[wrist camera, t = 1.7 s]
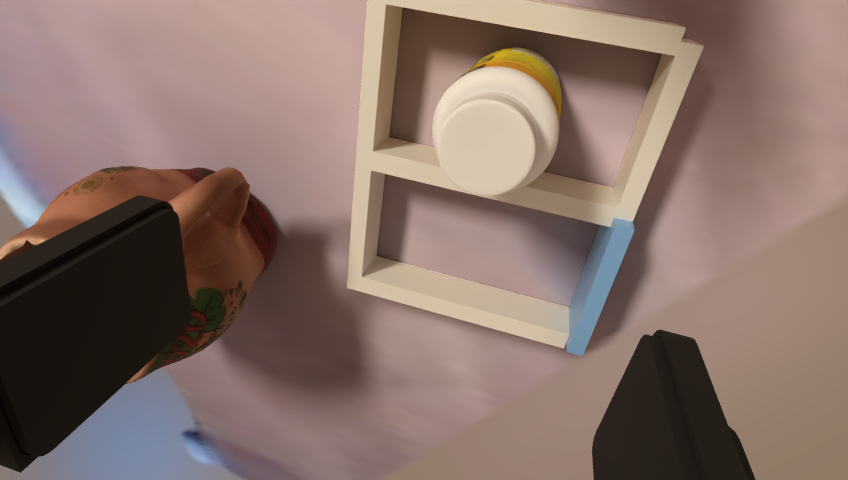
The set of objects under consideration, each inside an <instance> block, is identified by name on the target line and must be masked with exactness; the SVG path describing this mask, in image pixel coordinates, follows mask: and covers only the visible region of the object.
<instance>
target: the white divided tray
mask: <svg viewBox="0 0 848 480" xmlns="http://www.w3.org/2000/svg"><path fill="white" fill-rule="evenodd" d="M403 7H404V8H410V9H415V10H421V11H427V12H432V13H438V14H443V15H449V16H455V17H460V18H466V19H471V20H477V21H483V22H488V23H494V24H499V25H505V26H511V27H516V28H522V29H527V30H533V31H539V32H544V33H550V34H555V35H561V36H567V37H572V38H578V39H583V40H589V41H595V42H600V43H606V44H611V45H617V46H623V47H628V48H634V49H639V50H645V51H651V52H656V53H662V56H661V59H660V61H659V64H658V67H657V69H656V72H655V75H654V78H653V80H652V83H651V86H650V88H649V91H648V94H647V97H646V99H645V102H644V105H643V108H642V110H641V113H640V116H639V118H638V121H637V124H636V127H635V129H634V132H633V135H632V137H631V140H630V143H629V146H628V148H627V151H626V154H625V157H624V159H623V162H622V165H621V167H620V170H619V173H618V176H617V178H616V181H615V184H614V186H613V187H609V186H604V185H600V184H595V183H591V182H586V181H582V180H577V179H573V178H568V177H564V176H560V175H555V174H551V173H546V172H542V173H541V174H540V175H539V176H538V177H537V178H536V179H535V180H533V181H532V182H531V183H529V184H528V185H526V186H524V187H522V188H519V189H517V190H514V191H510V192H506V193H504V194H500V195H496V196H481V197H485V198H489V199H494V200H498V201H502V202H506V203H510V204H515V205H519V206H523V207H527V208H531V209H536V210H540V211H544V212H548V213H553V214H557V215H561V216H565V217H569V218H574V219H578V220H582V221H586V222H591V223H595V224H599V227H598V230H597V233H596V235H595V238H594V241H593V244H592V246H591V249H590V252H589V255H588V257H587V260H586V263H585V265H584V268H583V271H582V274H581V276H580V279H579V282H578V284H577V287H576V290H575V293H574V295H573V298H572V301H571V304H570V306H569V307H567V306H563V305H559V304H555V303H552V302H548V301H544V300H540V299H537V298H533V297H529V296H525V295H522V294H518V293H514V292H510V291H507V290H503V289H499V288H495V287H492V286H488V285H484V284H480V283H476V282H473V281H469V280H465V279H461V278H458V277H454V276H450V275H446V274H443V273H439V272H435V271H431V270H428V269H424V268H420V267H416V266H413V265H409V264H405V263H401V262H398V261H394V260H390V259H386V258H383V257H379V256H377V248H378V238H379V229H380V219H381V210H382V200H383V191H384V181H385V174H388V175H392V176H396V177H401V178H405V179H409V180H413V181H418V182H422V183H426V184H430V185H434V186H439V187H443V188H447V189H451V190H456V191H460V192H464V193H468V192H466V191H464V190H462V189H460V188H459V187H457V186H456V185H455V184H453V183H452V182H451V181H450V180H449V178H448V177H447V176H446V175H445V173H444V171H443V170H442V168H441V165H440V163H439V160H438V156H437V153H436V150H435V147H430V146H426V145H421V144H417V143H412V142H408V141H403V140H399V139H394V138H390V137H389V134H390V124H391V115H392V106H393V96H394V87H395V77H396V68H397V58H398V49H399V39H400V30H401V20H402V11H403ZM685 29H686V27H683V26H680V25H678V24H675V23H671V22H665V21H659V20H654V19H648V18H642V17H636V16H630V15H624V14H618V13H612V12H606V11H600V10H594V9H588V8H582V7H576V6H570V5H564V4H558V3H553V2H547V1H541V0H367V11H366V25H365V39H364V53H363V67H362V81H361V95H360V109H359V123H358V137H357V151H356V165H355V179H354V193H353V207H352V221H351V235H350V249H349V263H348V277H347V288H349V289H353V290H356V291H360V292H363V293H367V294H371V295H374V296H378V297H381V298H385V299H388V300H392V301H396V302H399V303H403V304H406V305H410V306H413V307H417V308H421V309H424V310H428V311H431V312H435V313H438V314H442V315H446V316H449V317H453V318H456V319H460V320H463V321H467V322H471V323H474V324H478V325H481V326H485V327H488V328H492V329H496V330H499V331H503V332H506V333H510V334H513V335H517V336H521V337H524V338H528V339H531V340H535V341H538V342H542V343H546V344H549V345H553V346H556V347H560V348H563V349H564V347H565V344H566V352H569V353H572V354H576V355H579V356H583V355H584V352H585V350H586V347H587V345H588V342H589V340H590V338H591V335H592V333H593V330H594V328H595V325H596V323H597V321H598V318H599V316H600V313H601V311H602V308H603V306H604V304H605V301H606V299H607V296H608V294H609V291H610V289H611V287H612V284H613V282H614V279H615V277H616V274H617V272H618V270H619V267H620V265H621V262H622V260H623V258H624V255H625V253H626V250H627V248H628V245H629V243H630V241H631V238H632V236H633V233H634V231H635V229H634V225H633V220H634V217H635V215H636V212H637V210H638V207H639V205H640V203H641V200H642V198H643V195H644V193H645V190H646V188H647V185H648V183H649V180H650V178H651V175H652V173H653V171H654V168H655V166H656V163H657V161H658V158H659V156H660V153H661V151H662V148H663V146H664V143H665V141H666V138H667V136H668V134H669V131H670V129H671V126H672V124H673V121H674V119H675V116H676V114H677V111H678V109H679V106H680V104H681V101H682V99H683V97H684V94H685V92H686V89H687V87H688V84H689V82H690V79H691V77H692V74H693V72H694V69H695V67H696V64H697V62H698V60H699V57H700V55H701V52H702V50H703V47H704V46H703V45H701V44H699V43H696V42H694V41H692V40H690V39H685V38H682V37H683V35H684V32H685ZM468 194H471V193H468ZM472 195H474V194H472ZM477 196H478V195H477Z"/></svg>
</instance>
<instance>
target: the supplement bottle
mask: <svg viewBox="0 0 848 480" xmlns="http://www.w3.org/2000/svg"><path fill="white" fill-rule="evenodd" d="M561 102H562V93H561V84H560V81H559V78H558V75H557V73H556V72H555V70H554V68H553V67H552V66H551V64H550V63H549V62H548V61H547V60H546V59H545V58H544V57H542V56H541V55H539V54H538V53H536V52H534V51H531V50H529V49H525V48H519V47H509V48H503V49H499V50H496V51H494V52H491V53H489V54H488V55H486V56H485V57H483V58H482V59H481V60H479V61H478V62H477V63H476V64H475V65H473V66H472V67H471V68H470V69H469V70H468V71H467V72H466V73H464V74H463V75H462V76H461V77H460V78H459V79H457V80H456V81H455V82H454V83H453V84H452V85H451V86H450V87H449V88H448V89H447V90H446V92H445V93H444V95H443V96H442V98H441V99H440V101H439V103H438V105H437V108H436V110H435V114H434V118H433V123H432V136H433V143H434V147H435V150H436V153H437V156H438V160H439V163H440V165H441V168H442V170H443V171H444V173H445V175H446V176H447V177H448V178H449V180H450V181H451V182H452V183H453V184H455V185H456V186H457V187H459V188H460V189H462V190H464V191H466V192H468V193H471V194H474V195H478V196H496V195H500V194H504V193H506V192H510V191H514V190H517V189H519V188H522V187H524V186H526V185H528V184H529V183H531V182H532V181H533V180H535V179H536V178H537V177H538V176H539V175H540V174H541V173H542V172H543V171H544V170H545V169H546V167H547V166H548V165H549V163H550V161H551V159H552V158H553V156H554V153H555V150H556V147H557V143H558V138H559V127H560V114H561Z"/></svg>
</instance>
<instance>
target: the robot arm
mask: <svg viewBox="0 0 848 480" xmlns="http://www.w3.org/2000/svg"><path fill="white" fill-rule="evenodd" d="M190 318H191V308H190V300H189V292H188V284H187V276H186V268H185V260H184V253H183V245H182V237H181V229H180V221H179V216H178V214H177V213H176V212H175V211H174V209H173V207H172V205H171V204H170V203H168V202H166V201H162V200H158V199H155V198H151V197H147V196H141V195H139V196H135V197H133V198H131V199H129V200H127V201H125V202H123V203H121V204H119V205H117V206H115V207H113V208H111V209H109V210H107V211H105V212H103V213H101V214H99V215H97V216H95V217H93V218H91V219H89V220H87V221H84V222H82V223H80V224H78V225H76V226H74V227H72V228H70V229H68V230H66V231H64V232H62V233H60V234H58V235H56V236H54V237H52V238H50V239H48V240H46V241H44V242H42V243H40V244H38V245H36V246H34V247H32V248H30V249H28V250H26V251H24V252H22V253H20V254H18V255H16V256H14V257H12V258H10V259H8V260H6V261H4V262H2V263H0V465H2V466H4V467H7V468H10V469H13V470H15V471H18V472H21V471H23V470H24V469H25V468H26V467H27V466H28V465H30V464H31V463H32V462H33V461H34V460H35V459H36V458H37V457H39V456H44V455H46V454H48V453H49V452H50V451H52V450H53V449H54V448H56V447H57V446H58V445H59V444H60V443H61V442H62V441H63V440H64V439H65V438H66V437H68V435H70V434H71V433H72V432H73V431H74V430H75V429H76V428H77V427H78V426H79V425H81V424H82V423H83V422H84V421H85V420H86V419H87V418H88V417H89V416H91V415H92V414H93V413H94V412H95V411H96V410H97V409H98V408H99V407H100V406H101V405H102V404H104V403H105V402H106V401H107V400H108V399H109V398H110V397H111V396H112V395H114V394H115V393H116V392H117V391H118V390H119V389H120V388H121V387H122V386H123V385H125V384H126V383H127V382H128V381H129V380H130V379H131V378H132V377H133V376H134V375H135V374H137V373H138V372H139V371H140V370H141V369H142V368H143V367H144V366H145V365H146V364H148V363H149V362H150V361H151V360H152V359H153V358H154V357H155V356H156V355H157V354H158V353H160V352H161V351H162V350H163V349H164V348H165V347H166V346H167V345H168V344H169V343H171V342H172V341H173V340H174V339H175V338H176V337H177V336H178V335H179V334H180V333H181V332H183V331H184V330H185V328H186V327H187V325H188V324H189V321H190ZM592 456H593V472H594V480H755V477H754V475H753V472H752V470H751V467H750V465H749V462H748V460H747V457H746V454H745V452H744V449H743V447H742V444H741V442H740V439H739V438H738V436H737V434H736V432H735V431H734V430H733V429H731V428H730V427H729V426H728V424H727V422H726V419H725V416H724V414H723V411H722V409H721V406H720V403H719V401H718V398H717V395H716V393H715V390H714V387H713V385H712V382H711V379H710V377H709V374H708V372H707V369H706V366H705V364H704V361H703V358H702V356H701V353H700V350H699V348H698V345H697V343H696V341H695V340H694V339H693V338H690V337H686V336H682V335H679V334H675V333H671V332H667V331H663V330H657V331H656V332H655V333H654V334H653V336H650V335H643V337H642V338H641V339H640V341H639V343H638V345H637V348H636V350H635V352H634V354H633V356H632V358H631V360H630V362H629V364H628V366H627V368H626V371H625V373H624V375H623V377H622V379H621V381H620V383H619V385H618V387H617V389H616V391H615V394H614V396H613V398H612V400H611V402H610V404H609V406H608V408H607V410H606V412H605V415H604V417H603V419H602V421H601V423H600V425H599V427H598V429H597V431H596V434H595V437H594V441H593V447H592Z"/></svg>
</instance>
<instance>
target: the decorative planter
mask: <svg viewBox="0 0 848 480" xmlns="http://www.w3.org/2000/svg"><path fill="white" fill-rule="evenodd" d="M249 188H250V185H249V184H248V183H247V182H246V180H245V178H244V176H243V175H242V173H241V172H239V171H238V170H237V169H235V168H229V167H227V168H224V169H222V170H220V171H218V172H215V171H212V170H209V169H205V168H193V169H185V170H183V169H152V170H150V169H146V168H142V167H134V166H122V167H112V168H106V169H102V170H99V171H97V172H95V173H93V174H91V175H89V176H87V177H85V178H84V179H82V180H80V181H78V182H76V183H75V184H73V185H72V186H70V187H69V188H67V189H66V190H65V191H63V192H62V193H61V194H60V195H58V196H57V197H56V198H55V199H54V200H53V201H52V202H51V203H50V205H49V206H48V207H47V208H46V209H45V211H44V212H43V214H42V215H41V217H40V218H39V220H38V221H37V222H36V223H35V224H34V225H33V226H31V227H30V228H28V229H26V230H24V231H22V232H20V233H18V234H17V235H15V236H14V237H13V238H11V239H10V240H9V241H8V242H6V243H5V244H4V245H3V246H2V248H1V249H0V263H2V262H4V261H6V260H8V259H10V258H12V257H14V256H16V255H18V254H20V253H22V252H24V251H26V250H28V249H30V248H32V247H34V246H36V245H38V244H40V243H42V242H44V241H46V240H48V239H50V238H52V237H54V236H56V235H58V234H60V233H62V232H64V231H66V230H68V229H70V228H72V227H74V226H76V225H78V224H80V223H82V222H84V221H87V220H89V219H91V218H93V217H95V216H97V215H99V214H101V213H103V212H105V211H107V210H109V209H111V208H113V207H115V206H117V205H119V204H121V203H123V202H125V201H127V200H129V199H131V198H133V197H135V196H139V195H141V196H147V197H151V198H155V199H158V200H162V201H166V202H168V203H170V204H171V205H172V207H173V209H174V211H175V212H176V213H177V214H178V216H179V221H180V229H181V237H182V245H183V253H184V260H185V268H186V276H187V284H188V292H189V300H190V308H191V318H190V321H189V324H188V325H187V327H186V328H185V330H184V331H183V332H181V333H180V334H179V335H178V336H177V337H176V338H175V339H174V340H173V341H172V342H171V343H169V344H168V345H167V346H166V347H165V348H164V349H163V350H162V351H161V352H160V353H158V354H157V355H156V356H155V357H154V358H153V359H152V360H151V361H150V362H149V363H148V364H146V365H145V366H144V367H143V368H142V369H141V370H140V371H139V372H138V373H137V374H135V375H134V376H133V377H132V378H131V379H130V380H129V381H128V382H127V383H126V384H128V383H131V382H134V381H137V380H139V379H141V378H143V377H145V376H146V375H148V374H149V373H151V372H153V371H155V370H157V369H159V368H161V367H164V366H166V365H169V364H172V363H175V362H177V361H180V360H182V359H185V358H187V357H190V356H192V355H194V354H196V353H198V352H200V351H201V350H203V349H205V348H206V347H208V346H209V345H210V344H212V343H213V342H214V341H216V340H217V339H218V338H219V337H220V336H221V335H222V334H223V333H224V332H225V331H226V330H227V329H228V328H229V327H230V325H231V324H232V323H233V321H234V320H235V319H236V317H237V316H238V314H239V313H240V311H241V309H242V308H243V306H244V304H245V302H246V300H247V298H248V295H249V292H250V290H251V287H252V285H253V283H254V281H255V280H256V279H257V278H258V277H259V276H260V275H261V274H262V273H263V272H264V270H265V269H266V268H267V266H268V264H269V263H270V261H271V258H272V257H273V254H274V250H275V246H276V237H275V233H274V230H273V227H272V225H271V223H270V221H269V219H268V218H267V216H266V215H265V213H264V212H263V210H262V209H261V207H260V206H259V204H258V203H257V202H256V201H255V200H254V199H253V197H252V196H251V195H250V190H249Z"/></svg>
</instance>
